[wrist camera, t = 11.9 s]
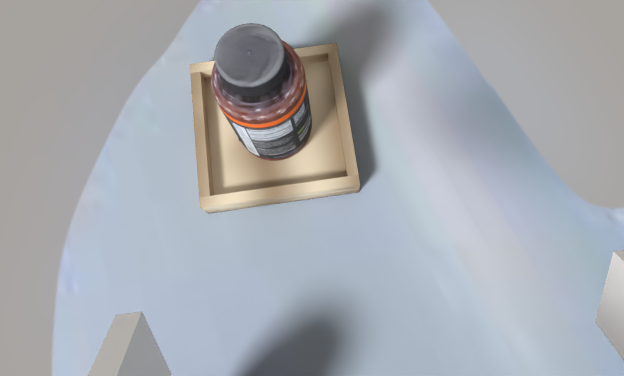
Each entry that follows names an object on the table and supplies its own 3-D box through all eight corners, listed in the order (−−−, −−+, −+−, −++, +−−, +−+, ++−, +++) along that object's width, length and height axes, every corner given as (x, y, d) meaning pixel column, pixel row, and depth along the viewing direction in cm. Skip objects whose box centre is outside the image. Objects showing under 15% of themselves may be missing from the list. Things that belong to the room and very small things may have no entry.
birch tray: (336, 57, 38) (336, 42, 36) (358, 192, 35) (360, 185, 33) (197, 77, 38) (189, 64, 36) (208, 213, 35) (200, 207, 33)
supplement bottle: (241, 93, 37) (202, 4, 26) (314, 94, 36) (305, 5, 25) (235, 162, 35) (190, 99, 24) (310, 165, 35) (299, 102, 24)
